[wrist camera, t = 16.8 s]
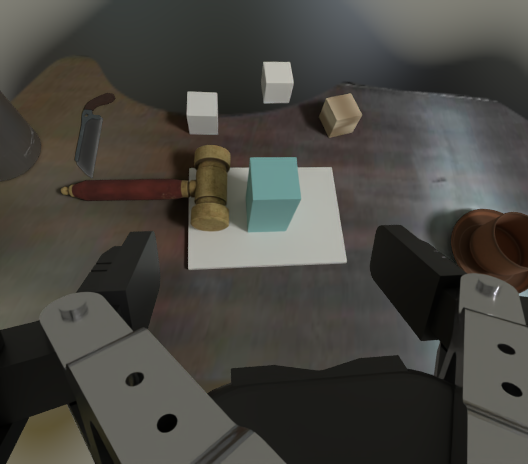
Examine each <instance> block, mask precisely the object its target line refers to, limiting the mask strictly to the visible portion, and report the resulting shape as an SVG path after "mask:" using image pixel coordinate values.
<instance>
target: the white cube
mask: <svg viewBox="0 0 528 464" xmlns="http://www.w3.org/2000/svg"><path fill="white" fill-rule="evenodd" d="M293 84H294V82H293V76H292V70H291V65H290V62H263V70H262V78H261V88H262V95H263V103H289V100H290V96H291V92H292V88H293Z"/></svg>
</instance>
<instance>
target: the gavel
mask: <svg viewBox="0 0 528 464" xmlns="http://www.w3.org/2000/svg"><path fill="white" fill-rule="evenodd" d="M194 168H195V169H196V170H197V172H196V180H191V181H189V180H176V179H139V180H85V181H83V182H80V183H77V184H75V185H70V186H69V188H68V187H63V188H62V189H61V193H62V194H64V195H69V194H70V196H72V197H77V198H80V199H83V200H87V201H103V200H161V199H178V198H183V197H190V196H191V197H192V198H194V197H195V200H194V202H195V204H196V205H194V206H193V207H192V209H191V222H190V223H191V225H192V226H193V227H194V228H196V229H198V230H202V231H209V232H213V231H221V230H224V229H225V228H227V227H228V226H229V209H228V208H227V207H226V205H227V173H228V172H229V170H230V153H229V152H228V151H227V150H226V149H224V148H222V147H220V146H215V145H206V146H202V147H200V148H198V149H197V150H196V151H195V159H194Z"/></svg>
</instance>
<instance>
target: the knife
mask: <svg viewBox="0 0 528 464" xmlns="http://www.w3.org/2000/svg"><path fill="white" fill-rule="evenodd" d="M114 99H115V97H114V95H113V94H110V93H106V94H103V95H100V96H98V97H96V98H94V99H92V100H90V101H89V102H88V103H87V104H86V106H85V108H84V111H83V114H82V126H81V131H80V136H79V141H78V146H77V151H76V156H75V160H76V162H77V165H78V166H79V167H80V168H81V169H82V170H83V171H84V173H85V174H86V175H88V176H89V177H91V178H93V172H94V166H95V161H96V155H97V149H98V143H99V138H100V132H101V126H102V121H103V118H101V116H99V115H93V114H92V111H93V110H94V109H95V108H96V107H98V106H101V105H105V104H109V103H112V102H113V101H114ZM86 114H88V117H85V115H86Z"/></svg>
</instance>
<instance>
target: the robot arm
mask: <svg viewBox="0 0 528 464" xmlns="http://www.w3.org/2000/svg"><path fill="white" fill-rule="evenodd" d="M40 151H41V142H40V138H39V136H38V135H37V133H36V132H35V131H34V130H33V128H32V127H31V126H30V125H29V124H28V123H27V121H26V120H25V119H24V118H23V117H22V116H21V114H20V113H19V112H18V111H17V110H16V108H15V107H14V106H13V105H12V104H11V103H10V101H9V100H8V99H7V98H6V97H5V96H4V95H3V94H2V92H1V91H0V181H5V180H9V179H12V178H15V177H17V176H19V175H21V174H23V173H25V172H26V171H27V170H29V169H30V168H31V167H32V166H33V165H34V163H35V162H36V160H37V159H38V157H39V154H40ZM370 272H371V276H372V278H373V280H374V281H375V282H376V284H377V285H378V286H379V287H380V289H381V290H382V291H383V293H384V294H385V295H386V296H387V298H388V299H389V300H390V302H391V303H392V304H393V305H394V307H395V308H396V309H397V311H398V312H399V313H400V314H401V316H402V317H403V318H404V320H405V321H406V322H407V323H408V325H409V326H410V327H411V329H412V330H413V331H414V332H415V334H416V335H417V336H418V338H419V339H420V340H421V341H428V340H439V341H440V344H439V347H438V350H437V356H436V364H435V372H434V376H433V375H430V374H427V373H424V372H421V371H416V370H412V369H407V368H406V366H405V365H404V363H403V362H402V360H401V359H400V357H399V356H398V355H395V356H382V357H370V358H359V359H356V360H353V361H350V362H347V363H343V364H340V365H337V366H334V367H331V368H328V369H325V370H320V371H317V370H308V369H300V368H293V367H285V366H277V365H270V366H257V367H244V368H232V369H231V383H229V384H226V385H223V386H221V387H219V388H216V389H214V390H212V391H210V392H209V393H206V392H205V391H204V390H203V389H202V388H201V387H200V386H199V385H198V383H197V382H196V381H195V380H194V379H193V378H192V377H191V376H190V375H189V374H188V373H187V372H186V371H185V369H184V368H183V367H182V366H181V365H180V364H179V363H178V362H177V361H176V360H175V359H174V358H173V357H172V355H171V354H170V353H169V352H168V351H167V350H166V349H165V348H164V347H163V346H162V345H161V344H160V342H159V341H158V340H157V339H156V338H155V337H154V336H153V335H152V334H151V333H150V332H149V331H148V330H147V329H148V326H149V323H150V319H151V316H152V312H153V309H154V305H155V302H156V298H157V295H158V291H159V287H160V268H159V260H158V252H157V244H156V237H155V233H154V232H153V231H144V232H130V233H129V235H128V236H127V238H126V240H125V241H124V243H123V245H122V246H114V247H112V248H111V249H109V250H108V251H106V252H105V253H103V254H102V255H101V257H100V258H99V260H98V261H97V263H96V265H95V266H94V267H93V269H92V270H91V272H90V273H89V274H88V276H87V277H86V279H85V280H84V282H83V283H82V285H81V286H80V288H79V289H78V291H77V292H76V293H74V294H70V295H67V296H64V297H61V298H59V299H57V300H55V301H53V302H52V303H50V304H49V305H48V306H46V307H45V308H44V309H43V311H42V312H41V314H40V318H39V321H35V322H32V323H28V324H24V325H19V326H15V327H11V328H7V329H3V330H0V464H6V463H7V461H8V459H9V457H10V455H11V453H12V451H13V449H14V447H15V445H16V443H17V441H18V439H19V437H20V435H21V432H22V431H23V429H24V427H25V425H26V423H27V421H28V419H29V417H31V416H34V415H36V414H39V413H42V412H45V411H48V410H51V409H54V408H57V407H60V406H63V405H66V404H67V405H68V408H69V410H70V412H71V414H72V416H73V418H74V420H75V422H76V425H77V427H78V429H79V431H80V433H81V435H82V437H83V439H84V441H85V444H86V446H87V448H88V450H89V452H90V454H91V456H92V458H93V461H94V463H95V464H528V297H523V296H519V294H518V292H517V290H516V289H515V288H514V287H513V286H511V285H510V284H508V283H507V282H505V281H503V280H500V279H498V278H495V277H492V276H489V275H484V274H477V273H470V274H467V273H466V272H465V271H463V270H462V269H461V268H460V267H458V266H457V265H456V264H454V263H453V262H452V261H451V260H449V259H448V258H445V256H444V255H443V254H442V253H440V252H438V250H436V249H435V248H434V247H432V246H431V245H430V244H429V243H427V242H424V241H422V240H420V239H418V238H417V237H416V236H414V235H413V234H412V233H411V232H409V231H408V230H407V229H406V228H404V227H403V226H402V225H381V226H379V227H378V228H377V230H376V234H375V239H374V245H373V250H372V256H371V261H370Z"/></svg>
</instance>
